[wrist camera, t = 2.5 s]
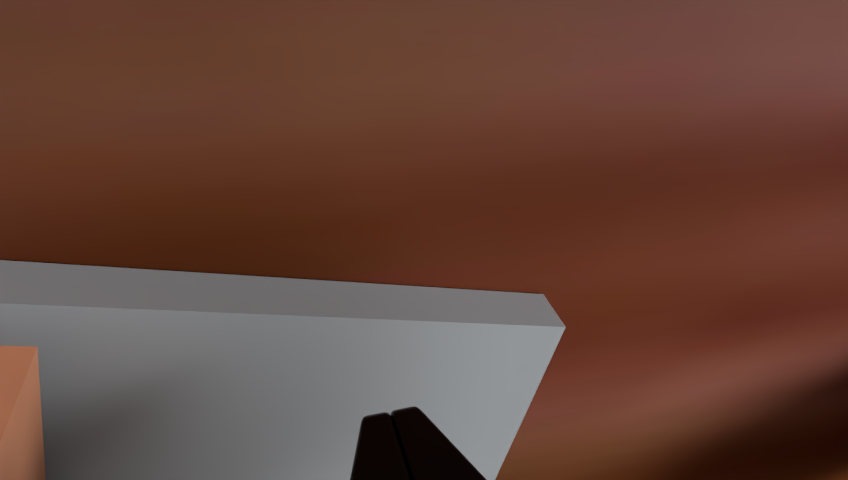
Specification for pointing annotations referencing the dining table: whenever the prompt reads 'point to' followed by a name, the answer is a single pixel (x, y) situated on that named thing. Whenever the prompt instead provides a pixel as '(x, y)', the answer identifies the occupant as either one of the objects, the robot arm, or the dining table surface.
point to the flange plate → (20, 415)
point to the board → (263, 368)
